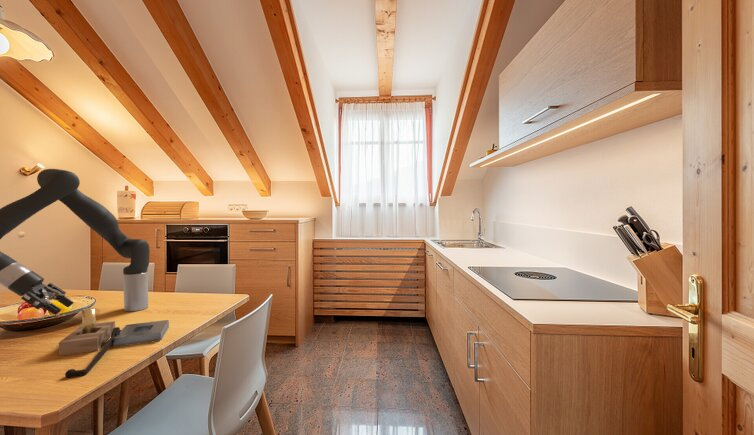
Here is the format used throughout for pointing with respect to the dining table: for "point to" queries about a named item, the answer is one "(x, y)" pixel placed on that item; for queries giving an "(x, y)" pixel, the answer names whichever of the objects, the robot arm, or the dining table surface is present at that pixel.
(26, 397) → the dining table surface
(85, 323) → the gold round-topped peg
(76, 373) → the wrench
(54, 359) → the dining table surface
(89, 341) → the brown recessed block
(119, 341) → the block
